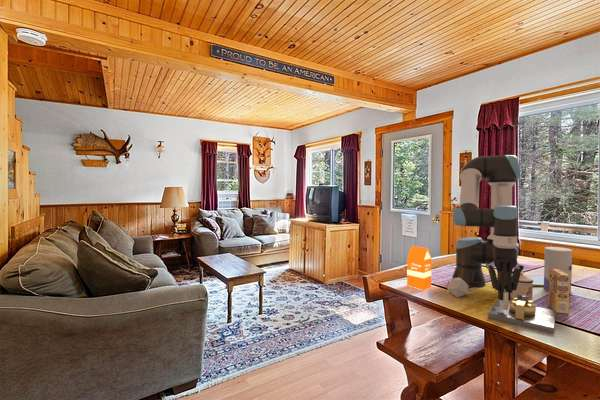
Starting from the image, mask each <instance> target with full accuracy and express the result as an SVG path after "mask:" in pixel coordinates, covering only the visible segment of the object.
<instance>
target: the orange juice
mask: <svg viewBox="0 0 600 400" xmlns="http://www.w3.org/2000/svg"><path fill="white" fill-rule="evenodd" d="M406 258H407V261H406V263H407V265H406V267H407V268H406V275H407V276H406V286H407V285H409V286H412V287H416V288H419V289H422V290H421V291H423V290H424V291H426V290H428V289H427V288H429V289H431V288H432V257H431V254H430V250H429V248H427V247H420V246H416V245H415V246H414V245H411V247H410V250H409V252H408V255H407V257H406ZM430 287H431V288H430ZM419 289H418V290H419ZM425 289H426V290H425Z"/></svg>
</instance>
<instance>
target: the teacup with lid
mask: <svg viewBox="0 0 600 400" xmlns="http://www.w3.org/2000/svg"><path fill="white" fill-rule="evenodd" d="M533 283H534V279H533V278H532V277H530V276H527V275H526V274H524V272H523V271H521V274H520V278H519V281H518V285H517V289H516V290H515V291H514V290H513V292H512V293H511V295H510V299H512V300H513V298H517V295H518V294H521V295H526V296H528V297H529V301H533V291H534V289H533V285H534V284H533Z"/></svg>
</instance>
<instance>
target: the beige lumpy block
mask: <svg viewBox="0 0 600 400" xmlns="http://www.w3.org/2000/svg"><path fill="white" fill-rule="evenodd" d="M509 302H510V310H511V311H512V312H515V318H518V319H522V320H524V317H525V315H535V314H536V307H537V306H536V305H535V304H534V301H533V300H532V301H528V304H526V305H525V303H526V301H520V300H517V298H513V299H512V300H509Z"/></svg>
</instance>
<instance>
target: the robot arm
mask: <svg viewBox="0 0 600 400" xmlns="http://www.w3.org/2000/svg"><path fill="white" fill-rule="evenodd" d="M459 178H460V181H461V185H460V194H459V204H458V205H459V206H458V207H454V209H453V210H452V211H453V212H452V223H453V225H455V226H460V227H478V228H480V227H482V228H490V234H489V235H488V236H487V237H486V240H483V238H482V237H476V236H471V237H470V236H467V237H461V238H459V239H457V240H456V245H455V250H456V253H455V254H456V255H455V256H456V258H455V268H454V272H453V274H452V277H451V279H453V278H458V277H459V278H461V279H462V280H464V281H465V282H466V283H467V284H468V285H469V286H468V287H473V288H474V287H476V288H479V287H481V288H482V287H484V286H485V285H486V278H485V276H484V275H485V274H484V272H483V268H482V265H485V267H486V269H487V270H488V275H489V278H490V283H491V286H492V288H493V289H494V290H496V291H497V299H499V300H500V307H501V308H502V309H504V310H508V301H511V298H510V295H511V293H512V292H513V290H514V291H515V290H516V289H517V285H518V281H519V278H520V274H521V272H523V270H524V269H525V266H524V265H523V264H520V263H518V256H519V249H520V246H519V245H520V244H519V243H518V221H519V220H518V218H519V214H518V207H517V206H516V205H513V186H515V184H517V180H519V179H521V170H520V163H519V160H518V156H516V155H514V154H501V155H489V156H488V155H486V156H485V155H484V156H483V155H482V156H477V157H474V158H473V159H471V160H469V161H468V162H466V163H465V164H464V166H463V167H462V168H461V170H460V172H459ZM482 180H484V181H487V184H488V185H489V186H490V188H491V189H490V190H491V193H490V195H491V196H490V200H491V201H490V203H491V204H490V208H479V207H480V204H479V203H480V201H479V200H480V182H482ZM495 269H496V270H495ZM496 272H497V274H496Z"/></svg>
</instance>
